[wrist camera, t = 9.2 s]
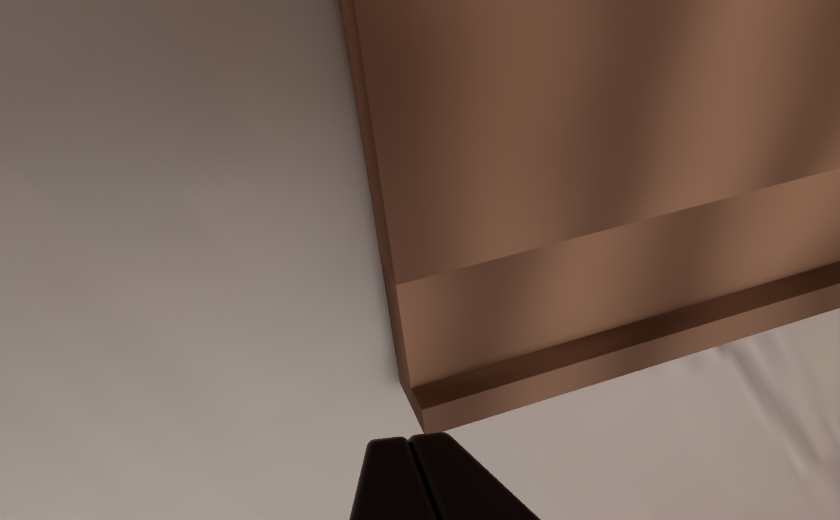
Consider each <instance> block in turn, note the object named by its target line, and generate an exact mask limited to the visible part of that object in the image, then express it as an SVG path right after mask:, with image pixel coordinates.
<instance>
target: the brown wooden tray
mask: <svg viewBox="0 0 840 520" xmlns="http://www.w3.org/2000/svg"><path fill="white" fill-rule="evenodd" d="M340 1H341V7H342V13H343V20H344V26H345V33H346V39H347V45H348V52H349V58H350V64H351V71H352V77H353V84H354V90H355V96H356V103H357V109H358V116H359V122H360V128H361V135H362V141H363V147H364V154H365V160H366V167H367V173H368V179H369V186H370V192H371V198H372V205H373V211H374V218H375V224H376V230H377V237H378V243H379V250H380V256H381V262H382V269H383V275H384V281H385V288H386V294H387V301H388V307H389V313H390V320H391V326H392V333H393V339H394V345H395V352H396V358H397V364H398V371H399V377H400V384H401V386H402V388H403V390H404V392H405V394H406V396H407V398H408V400H409V403H410V405H411V407H412V409H413V411H414V413H415V415H416V417H417V420H418V422H419V424H420V426H421V428H422V430H423V432H424V434H428V433H437V432H443V431H446V430H449V429H452V428H456V427H459V426H462V425H465V424H469V423H472V422H475V421H478V420H481V419H485V418H488V417H491V416H494V415H497V414H501V413H504V412H507V411H510V410H513V409H517V408H520V407H523V406H526V405H529V404H533V403H536V402H539V401H542V400H546V399H549V398H552V397H555V396H558V395H562V394H565V393H568V392H571V391H574V390H578V389H581V388H584V387H587V386H590V385H594V384H597V383H600V382H603V381H606V380H610V379H613V378H616V377H619V376H623V375H626V374H629V373H632V372H635V371H639V370H642V369H645V368H648V367H651V366H655V365H658V364H661V363H664V362H667V361H671V360H674V359H677V358H680V357H684V356H687V355H690V354H693V353H696V352H700V351H703V350H706V349H709V348H712V347H716V346H719V345H722V344H725V343H728V342H732V341H735V340H738V339H741V338H744V337H748V336H751V335H754V334H757V333H761V332H764V331H767V330H770V329H773V328H777V327H780V326H783V325H786V324H789V323H793V322H796V321H799V320H802V319H805V318H809V317H812V316H815V315H818V314H821V313H825V312H828V311H831V310H834V309H838V308H840V0H340Z"/></svg>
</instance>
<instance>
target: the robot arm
mask: <svg viewBox="0 0 840 520" xmlns="http://www.w3.org/2000/svg"><path fill="white" fill-rule="evenodd" d="M349 520H540V519H539V518H538V517H537V516H536V515H535V514H534V513H533V512H532V511H530V510H529V509H528V508H527V507H526V506H525V505H524V504H523V503H522V502H521V501H520V500H519V499H518V498H517V497H515V496H514V495H513V494H512V493H511V492H510V491H509V490H508V489H507V488H506V487H505V486H504V485H503V484H502V483H501V482H499V481H498V480H497V479H496V478H495V477H494V476H493V475H492V474H491V473H490V472H489V471H488V470H487V469H486V468H484V467H483V466H482V465H481V464H480V463H479V462H478V461H477V460H476V459H475V458H474V457H473V456H472V455H471V454H469V453H468V452H467V451H466V450H465V449H464V448H463V447H462V446H461V445H460V444H459V443H458V442H457V441H456V440H455V439H453V438H452V437H451V436H450V435H449V434H447V433H444V432H437V433H428V434H419V435H413V436H411V437H410V438H409V439H408V440H407V439H406V438H404V437H392V438H383V439H374V440H371V441H370V442H369V443H368V445H367V448H366V452H365V456H364V460H363V465H362V469H361V473H360V477H359V481H358V486H357V490H356V494H355V498H354V503H353V507H352V511H351V515H350V519H349Z"/></svg>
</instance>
